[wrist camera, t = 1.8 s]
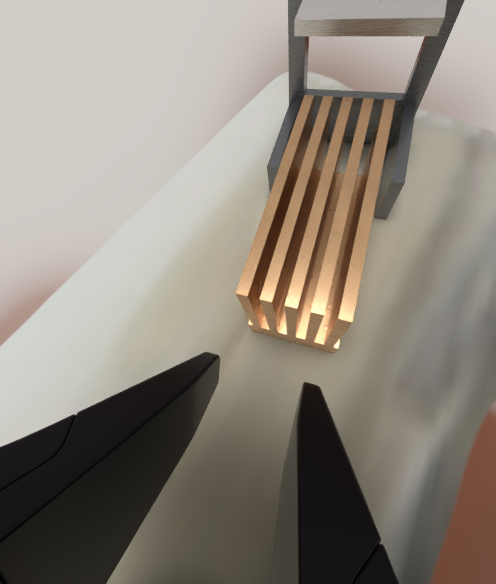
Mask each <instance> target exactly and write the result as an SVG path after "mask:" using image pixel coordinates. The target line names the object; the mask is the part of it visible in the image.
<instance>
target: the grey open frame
mask: <svg viewBox="0 0 496 584" xmlns="http://www.w3.org/2000/svg"><path fill="white" fill-rule="evenodd" d="M463 2H464V0H288V34H289V107H288V110H287V113H286V115H285V118H284V121H283V124H282V127H281V129H280V132H279V135H278V138H277V141H276V143H275V146H274V149H273V152H272V154H271V157H270V160H269V163H268V166H267V170H268V179H269V189H270V193H271V190H272V187H273V184H274V181H275V178H276V176H277V173H278V170H279V167H280V164H281V161H282V158H283V155H284V153H285V150H286V147H287V144H288V141H289V138H290V135H291V132H292V129H293V127H294V124H295V121H296V118H297V115H298V112H299V109H300V106H301V104H302V101H303V98H304V95H314V102H313V116H312V130H311V134H312V131H313V128H314V125H315V121H316V118H317V115H318V112H319V109H320V106H321V102H322V99H323V96H333V102H332V110H331V117H330V125H329V132H328V140H331V139H332V135H333V131H334V128H335V124H336V121H337V117H338V114H339V110H340V107H341V103H342V99H343V97H353V102H352V107H351V111H350V116H349V121H348V126H347V131H346V136H345V141H347V142H353V139H354V135H355V131H356V127H357V123H358V119H359V115H360V110H361V106H362V102H363V98H374V101H373V105H372V110H371V114H370V118H369V123H368V127H367V131H366V136H365V140H364V143H369V144H371V142H372V139H373V136H374V132H375V129H376V126H377V123H378V119H379V116H380V113H381V110H382V106H383V103H384V100H385V99H393V100H395V105H394V110H393V115H392V121H391V126H390V131H389V136H388V141H387V146H386V149H388V151H387V157H386V162H385V168H384V173H383V178H382V184H381V189H380V195H379V200H378V206H377V211H376V217H375V218H381V219H386V218H387V216H388V214H389V212H390V210H391V208H392V206H393V204H394V202H395V200H396V199H397V197H398V195H399V193H400V191H401V189H402V187H403V185H404V183H405V176H406V170H407V163H408V156H409V150H410V143H411V136H412V130H413V123H414V116H415V114H416V112H417V109H418V107H419V105H420V102H421V100H422V98H423V95H424V93H425V91H426V88H427V86H428V84H429V81H430V79H431V77H432V74H433V72H434V70H435V68H436V65H437V63H438V60H439V58H440V56H441V54H442V51H443V49H444V47H445V44H446V42H447V39H448V37H449V35H450V33H451V30H452V28H453V26H454V23H455V21H456V18H457V16H458V14H459V11H460V9H461V7H462V5H463ZM309 36H425V37H424V40H423V43H422V45H421V48H420V51H419V54H418V56H417V59H416V62H415V65H414V67H413V70H412V73H411V76H410V78H409V81H408V84H407V87H406V89H405V92H404V93H383V92H362V91H340V90H318V89H307V69H308V47H309Z"/></svg>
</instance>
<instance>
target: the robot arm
mask: <svg viewBox="0 0 496 584" xmlns="http://www.w3.org/2000/svg"><path fill="white" fill-rule="evenodd" d="M219 368H220V357H219V356H218V355H216V354H213V353H210V352H204V353H202V354H200V355H198V356H195V357H193V358H191V359H189V360H187V361H185V362H183V363H181V364H179V365H177V366H174V367H172V368H170V369H168V370H166V371H164V372H162V373H160V374H158V375H156V376H153V377H151V378H149V379H147V380H145V381H143V382H141V383H139V384H137V385H135V386H132V387H130V388H128V389H126V390H124V391H122V392H120V393H118V394H116V395H113V396H111V397H109V398H107V399H105V400H103V401H101V402H99V403H97V404H95V405H92V406H90V407H88V408H86V409H84V410H82V411H80V412H78V413H77V415H75V414H74V415H71V416H69V417H67V418H65V419H63V420H61V421H59V422H56V423H54V424H52V425H50V426H48V427H46V428H43V429H41V430H39V431H37V432H35V433H32V434H30V435H28V436H26V437H23V438H21V439H19V440H16V441H14V442H11V443H9V444H7V445H4V446H2V447H0V584H106V583H107V581H108V579H109V578H110V576H111V574H112V573H113V571H114V569H115V568H116V566H117V564H118V563H119V561H120V559H121V558H122V556H123V554H124V552H125V551H126V549H127V547H128V546H129V544H130V542H131V541H132V539H133V537H134V536H135V534H136V532H137V531H138V529H139V527H140V526H141V524H142V522H143V521H144V519H145V517H146V516H147V514H148V512H149V511H150V509H151V507H152V506H153V504H154V502H155V501H156V499H157V497H158V495H159V494H160V492H161V490H162V489H163V487H164V485H165V484H166V482H167V480H168V479H169V477H170V475H171V474H172V472H173V470H174V469H175V467H176V465H177V464H178V462H179V460H180V459H181V457H182V455H183V454H184V452H185V450H186V449H187V447H188V445H189V443H190V442H191V440H192V438H193V436H194V434H195V432H196V430H197V428H198V426H199V423H200V421H201V419H202V417H203V415H204V413H205V410H206V408H207V406H208V404H209V402H210V399H211V397H212V395H213V393H214V391H215V389H216V386H217V384H218V380H219ZM380 542H381V538H380V536H379V533H378V531H377V528H376V526H375V523H374V521H373V518H372V516H371V513H370V511H369V508H368V506H367V503H366V501H365V498H364V496H363V493H362V491H361V488H360V486H359V483H358V481H357V478H356V476H355V473H354V471H353V468H352V466H351V463H350V461H349V458H348V456H347V453H346V451H345V448H344V446H343V443H342V441H341V438H340V436H339V433H338V431H337V428H336V426H335V423H334V421H333V418H332V416H331V413H330V411H329V408H328V406H327V403H326V401H325V398H324V396H323V393H322V391H321V389H320V387H319V386H317V385H314V384H311V383H307V382H304V383H303V385H302V389H301V393H300V397H299V401H298V405H297V409H296V414H295V418H294V423H293V427H292V431H291V436H290V440H289V445H288V449H287V454H286V458H285V463H284V468H283V475H282V482H281V492H280V501H279V511H278V520H277V530H276V539H275V549H274V559H273V568H272V578H271V584H399V582H398V580H397V577H396V575H395V573H394V570H393V568H392V565H391V563H390V560H389V558H388V555H387V552H386V550H385V547H384V546H383V545H382V544H380Z"/></svg>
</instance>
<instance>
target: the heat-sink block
mask: <svg viewBox="0 0 496 584" xmlns="http://www.w3.org/2000/svg"><path fill="white" fill-rule="evenodd" d="M373 101H374V98H363V102H362V106H361V110H360V115H359V119H358V123H357V127H356V131H355V135H354V139H353V143H352V147H351V151H350V155H349V159H348V163H347V167H346V171H345V173H338V171H339V166H340V161H341V156H342V151H343V146H344V141H345V136H346V131H347V126H348V121H349V116H350V111H351V107H352V102H353V97H343V99H342V103H341V107H340V110H339V114H338V117H337V121H336V124H335V128H334V131H333V135H332V139H331V142H330V146H329V149H328V153H327V156H326V160H325V155H326V147H327V140H328V132H329V125H330V117H331V110H332V102H333V96H323V99H322V102H321V106H320V109H319V112H318V115H317V118H316V121H315V125H314V128H313V131H312V134H311V130H312V116H313V102H314V95H304V98H303V101H302V104H301V106H300V109H299V112H298V115H297V118H296V121H295V124H294V127H293V129H292V132H291V135H290V138H289V141H288V144H287V147H286V150H285V153H284V155H283V158H282V161H281V164H280V167H279V170H278V173H277V176H276V178H275V181H274V184H273V187H272V190H271V193H270V196H269V199H268V201H267V204H266V207H265V210H264V213H263V216H262V219H261V222H260V225H259V227H258V230H257V233H256V236H255V239H254V242H253V245H252V248H251V250H250V253H249V256H248V259H247V262H246V265H245V268H244V271H243V273H242V276H241V279H240V282H239V285H238V288H237V291H236V295H237V297H238V299H239V301H240V303H241V304H242V306H243V308H244V310H245V312H246V314H247V316H248V318H249V323H248V324H249V326H250V328H251V330H252V331H256V332H260V333H263V334H267V335H270V336H274V337H278V338H281V339H285V340H288V341H292V342H295V343H299V344H303V345H306V346H310V347H313V348H317V349H321V350H324V351H328V352H331V353H335V352H336V350H337V349H338V347H339V342H340V338H341V336H342V335H343V334H344V333H345V331H346V330H347V329H348V327H349V326H350V325H351V323H352V322H353V317H354V311H355V306H356V301H357V296H358V291H359V286H360V280H361V275H362V270H363V265H364V260H365V255H366V250H367V244H368V239H369V234H370V229H371V224H372V219H373V213H374V208H375V203H376V198H377V193H378V188H379V182H380V177H381V172H382V167H383V162H384V157H385V151H386V146H387V141H388V136H389V131H390V126H391V121H392V115H393V110H394V105H395V100H393V99H385V100H384V103H383V106H382V110H381V113H380V116H379V119H378V123H377V126H376V129H375V132H374V136H373V139H372V142H371V146H370V149H369V152H368V155H367V159H366V162H365V165H364V168H363V172H362V175H357V171H358V166H359V162H360V158H361V153H362V149H363V144H364V140H365V136H366V131H367V127H368V123H369V118H370V114H371V110H372V105H373ZM324 162H325V163H324Z"/></svg>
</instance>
